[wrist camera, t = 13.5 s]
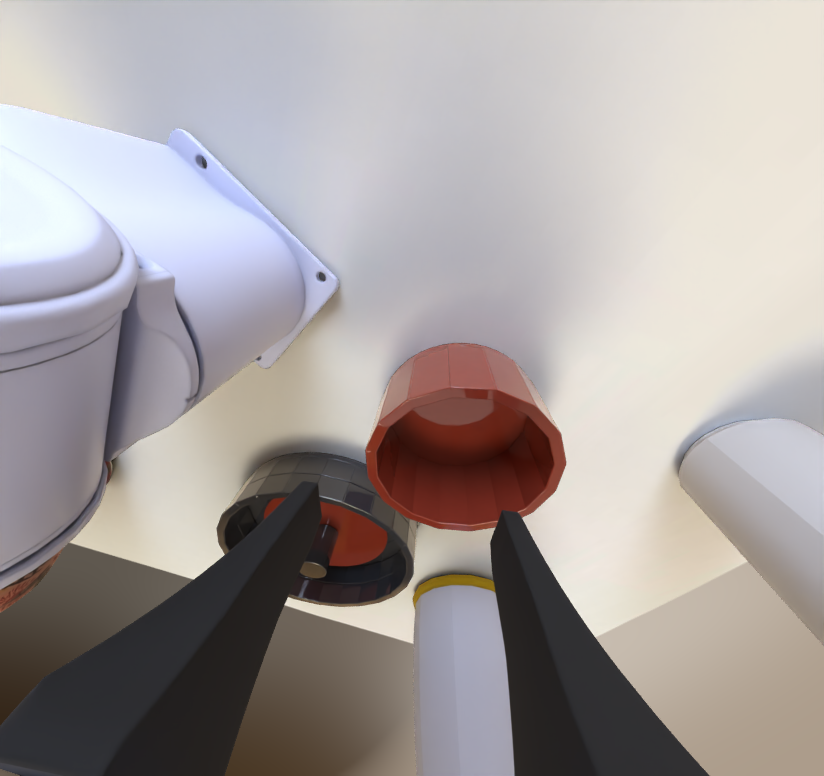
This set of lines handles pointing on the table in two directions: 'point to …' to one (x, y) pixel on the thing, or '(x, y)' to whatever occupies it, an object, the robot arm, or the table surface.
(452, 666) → the soap bottle
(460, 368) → the reddish brown bowl
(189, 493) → the table surface
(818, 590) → the can
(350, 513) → the lid
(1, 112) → the robot arm
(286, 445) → the table surface
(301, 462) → the pan
